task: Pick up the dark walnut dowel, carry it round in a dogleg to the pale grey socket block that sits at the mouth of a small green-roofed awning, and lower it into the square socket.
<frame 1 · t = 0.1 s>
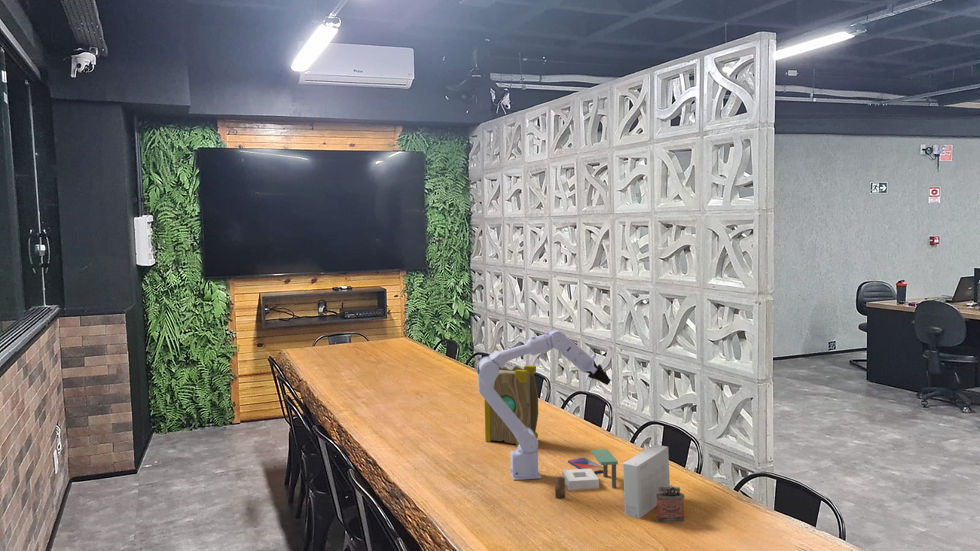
hand: (605, 380, 236), 32 cm above the table, tool tilted 50°, fingers open, 7 cm apart
socket block: (580, 483, 227), on the table
peg: (560, 497, 217), on the table
lighter: (670, 520, 199), on the table
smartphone: (586, 468, 243), on the table
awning: (603, 482, 228), on the table
skincare box: (647, 505, 209), on the table
decorative book: (511, 441, 273), on the table
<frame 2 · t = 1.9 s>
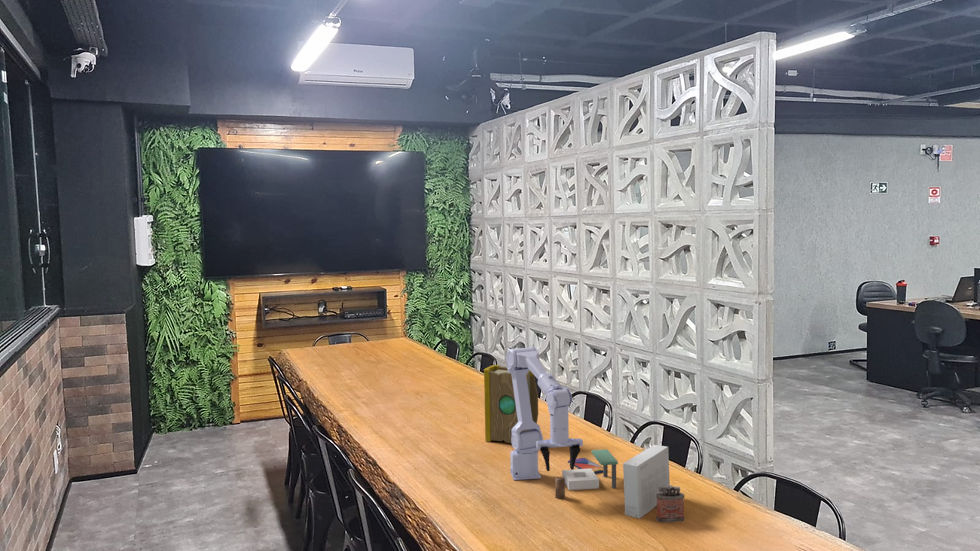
hand: (559, 469, 216), 9 cm above the table, tool pointing down, fingers open, 7 cm apart
nothing on the table moved.
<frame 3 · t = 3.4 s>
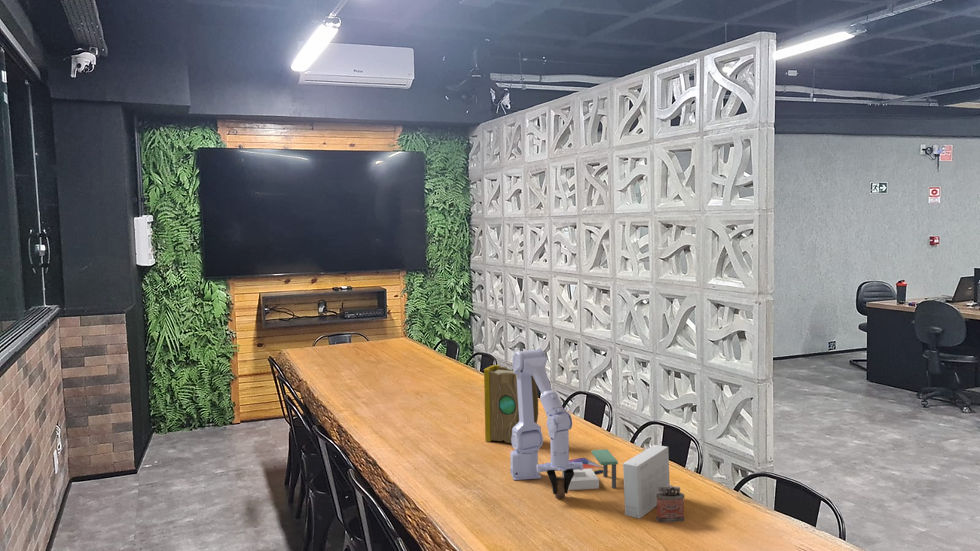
hand: (560, 492, 216), 1 cm above the table, tool pointing down, fingers closed on peg, 3 cm apart
peg: (560, 497, 217), on the table, touching gripper
everything else where it was.
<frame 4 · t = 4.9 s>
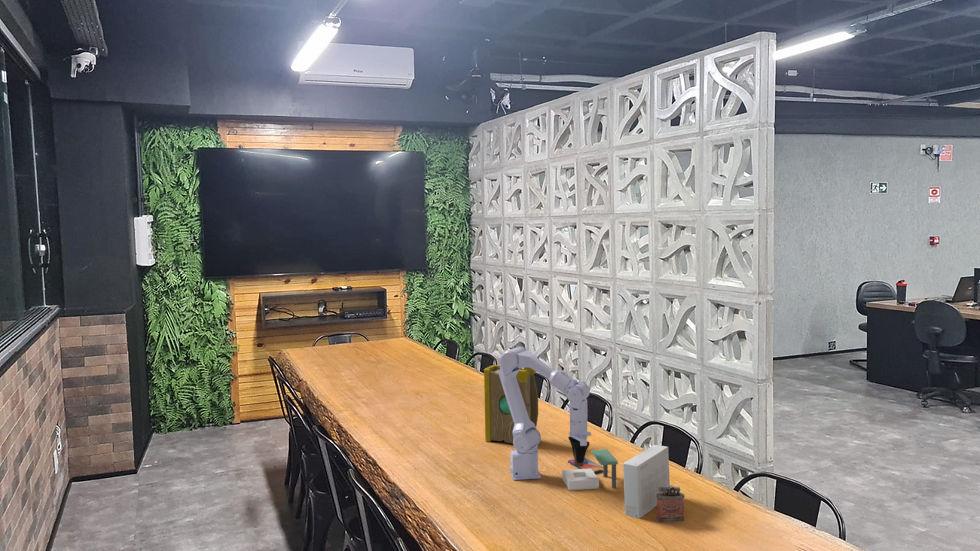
hand: (578, 460, 225), 8 cm above the table, tool pointing down, fingers closed on peg, 3 cm apart
peg: (579, 465, 225), point 7 cm above the table, touching gripper
everything else where it was.
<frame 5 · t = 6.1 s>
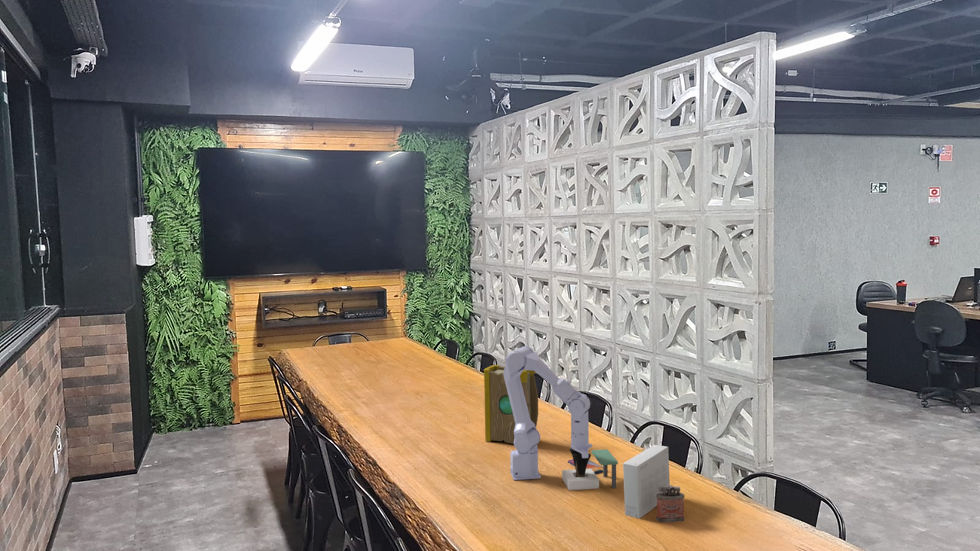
hand: (580, 472, 227), 4 cm above the table, tool pointing down, fingers closed on peg, 3 cm apart
peg: (580, 476, 227), point 2 cm above the table, touching gripper
everything else where it was.
when the fingers open (4 cm above the table, at t = 6.9 s): peg drops 2 cm, resting in socket block.
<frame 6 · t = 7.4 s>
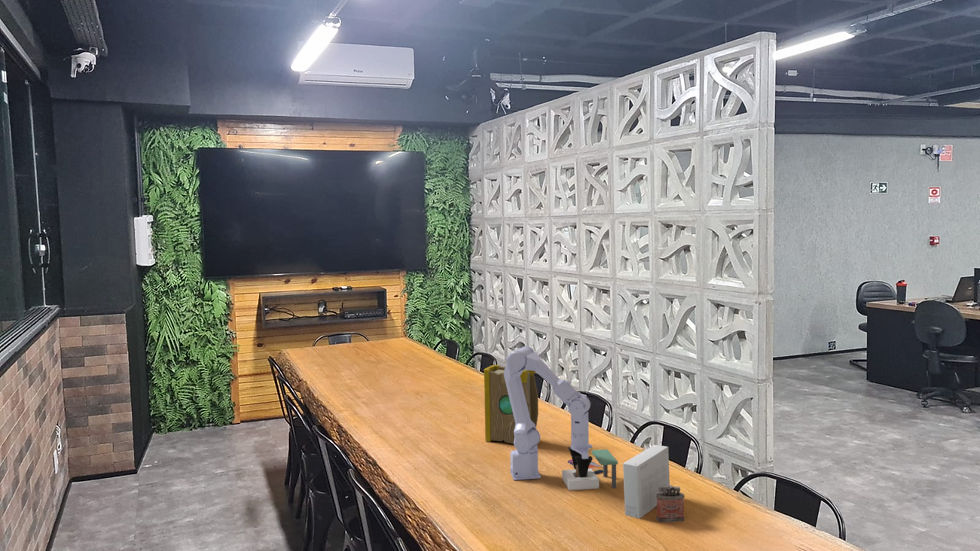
hand: (580, 472, 227), 4 cm above the table, tool pointing down, fingers open, 7 cm apart
peg: (580, 483, 228), resting in socket block
everything else where it was.
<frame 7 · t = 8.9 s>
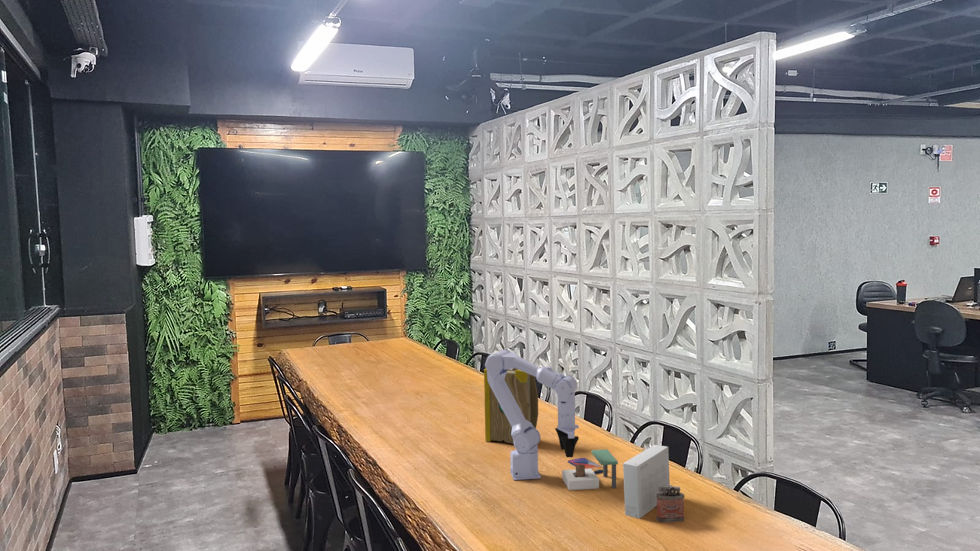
hand: (566, 453, 228), 10 cm above the table, tool pointing down, fingers open, 7 cm apart
nothing on the table moved.
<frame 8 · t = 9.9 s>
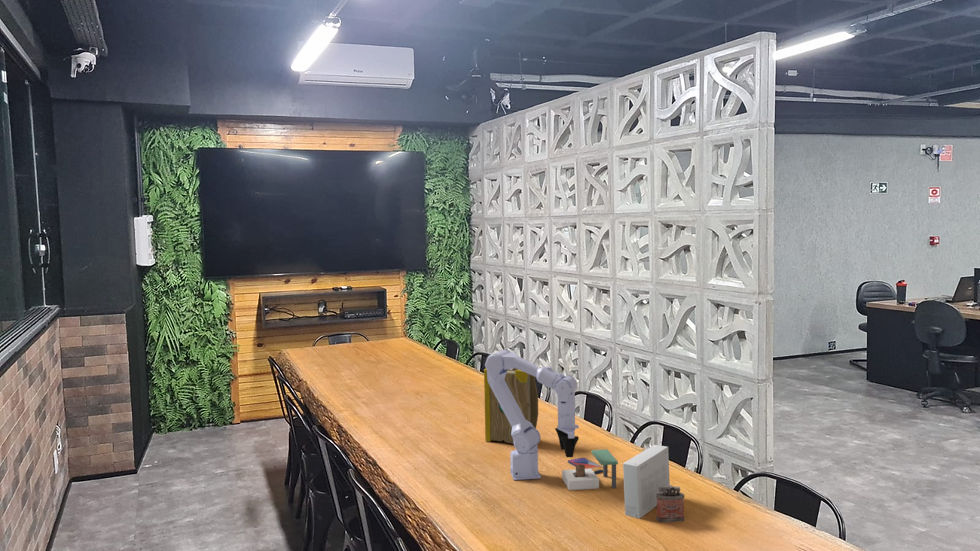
hand: (566, 453, 228), 10 cm above the table, tool pointing down, fingers open, 7 cm apart
nothing on the table moved.
at the end: peg 0.1 cm off-centre on the socket block, point 0.0 cm above the socket block's base; peg tilted 0°; the gripper is holding nothing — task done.
